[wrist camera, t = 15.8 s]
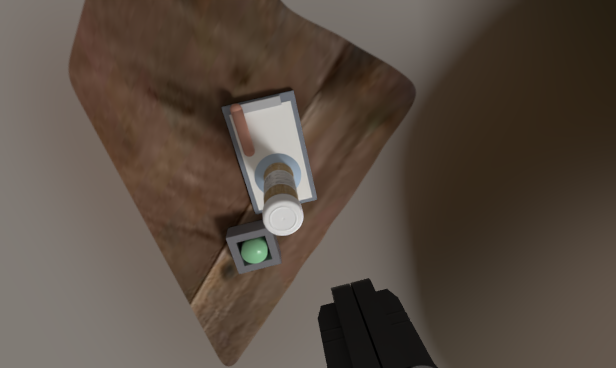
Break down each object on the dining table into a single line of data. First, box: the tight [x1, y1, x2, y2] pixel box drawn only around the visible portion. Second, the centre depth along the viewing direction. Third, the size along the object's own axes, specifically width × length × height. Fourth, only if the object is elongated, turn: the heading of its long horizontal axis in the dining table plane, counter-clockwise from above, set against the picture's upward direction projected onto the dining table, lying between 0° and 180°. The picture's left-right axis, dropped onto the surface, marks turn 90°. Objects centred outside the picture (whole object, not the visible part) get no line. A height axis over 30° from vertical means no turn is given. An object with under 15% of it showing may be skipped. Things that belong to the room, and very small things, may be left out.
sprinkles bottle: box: [262, 162, 303, 235], centre depth 40 cm, size 5×5×14 cm
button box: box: [226, 220, 282, 274], centre depth 49 cm, size 7×7×3 cm
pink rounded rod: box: [230, 103, 255, 157], centre depth 42 cm, size 8×2×2 cm, turn 12°
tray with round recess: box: [221, 90, 317, 214], centre depth 45 cm, size 17×10×1 cm, turn 12°
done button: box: [241, 236, 267, 264], centre depth 49 cm, size 4×4×3 cm
